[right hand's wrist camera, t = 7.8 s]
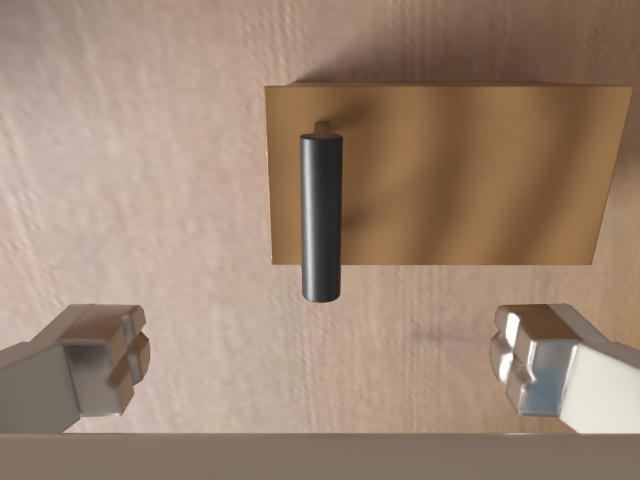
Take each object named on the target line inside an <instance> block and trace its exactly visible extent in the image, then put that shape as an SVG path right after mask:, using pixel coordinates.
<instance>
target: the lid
mask: <svg viewBox="0 0 640 480" xmlns="http://www.w3.org/2000/svg"><path fill="white" fill-rule="evenodd" d="M633 89H634V87H633V86H265V87H264V106H265V129H266V152H267V175H268V198H269V221H270V244H271V264H272V265H302V294H303V296H304V298H305V299H307V300H309V301H312V302H318V303H325V302H331V301H334V300H336V299H337V298H338V297H339V296H340V287H341V265H591V264H592V260H593V256H594V252H595V248H596V244H597V239H598V235H599V231H600V227H601V223H602V218H603V214H604V210H605V206H606V202H607V198H608V193H609V189H610V185H611V181H612V177H613V173H614V168H615V164H616V160H617V156H618V152H619V147H620V143H621V139H622V135H623V131H624V127H625V122H626V118H627V114H628V110H629V106H630V102H631V97H632V93H633Z"/></svg>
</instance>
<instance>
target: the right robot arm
mask: <svg viewBox="0 0 640 480" xmlns="http://www.w3.org/2000/svg"><path fill="white" fill-rule="evenodd" d="M145 323H146V319H145V314H144V310H143V308H142V307H141V306H140V305H114V304H73V305H69V306H68V307H67V308H66V309H65V310H64V311H63V312H62V313H60V314H59V315H58V316H57V317H56V318H55V319H54V320H53V321H52V322H51V323H50V324H48V325H47V326H46V327H45V328H44V329H43V330H42V331H41V332H40V333H39V334H37V335H36V336H35V337H34V338H33V339H32V340H31V341H30V342H21V343H18V344H16V345H13V346H11V347H8V348H6V349H4V350H1V351H0V480H640V351H639V350H636V349H634V348H631V347H629V346H627V345H624V344H622V343H619V342H610V341H609V340H608V339H607V338H606V337H605V336H604V335H603V334H601V333H600V332H599V331H598V330H597V329H596V328H595V327H594V326H593V325H592V324H591V323H589V322H588V321H587V320H586V319H585V318H584V317H583V316H582V315H581V314H580V313H579V312H577V311H576V310H575V309H574V308H573V307H572V306H571V305H568V304H530V305H502V306H498V308H497V311H496V313H495V319H494V323H495V325H496V326H497V328H498V329H499V332H498V333H497V334H496V335H495V336H494V337H493V338H492V339H491V345H490V362H491V366H492V370H493V373H494V374H495V376H496V378H497V380H498V381H500V382H501V383H503V384H505V385H506V386H507V389H506V395H507V397H508V399H509V401H510V402H511V404H512V406H513V407H514V409H515V411H516V412H517V414H518V416H542V417H560V418H559V419H560V420H562V421H563V422H564V423H566V424H567V425H568V426H570V427H571V428H572V429H574V430H575V431H576V432H578V433H62V432H64V431H65V430H66V429H68V428H69V427H70V426H72V425H73V424H74V423H76V422H77V421H78V420H80V417H98V416H122V414H123V412H124V411H125V409H126V407H127V406H128V404H129V402H130V401H131V399H132V397H133V395H134V389H133V386H134V385H135V384H137V383H139V382H140V381H142V380H143V378H144V376H145V374H146V372H147V370H148V366H149V361H150V344H149V339H148V338H147V337H146V336H145V335H144V334H143V333H142V332H141V329H142V328H143V326H144V325H145Z"/></svg>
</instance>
